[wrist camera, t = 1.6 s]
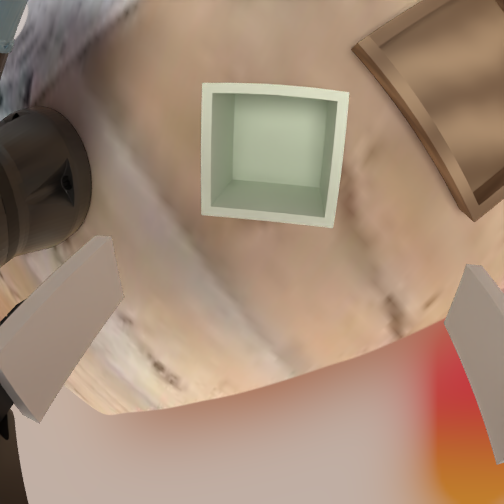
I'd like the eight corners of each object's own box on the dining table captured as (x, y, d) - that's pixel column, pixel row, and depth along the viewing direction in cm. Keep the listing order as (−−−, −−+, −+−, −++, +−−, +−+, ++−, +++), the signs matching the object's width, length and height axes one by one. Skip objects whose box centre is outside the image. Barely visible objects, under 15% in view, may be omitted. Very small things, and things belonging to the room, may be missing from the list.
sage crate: (226, 184, 26) (201, 215, 19) (229, 86, 22) (202, 82, 16) (325, 193, 25) (333, 228, 19) (335, 94, 21) (349, 92, 15)
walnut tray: (351, 49, 19) (357, 42, 16) (476, -28, 13) (491, -37, 10) (459, 209, 23) (474, 222, 21) (560, 121, 17) (579, 127, 14)
